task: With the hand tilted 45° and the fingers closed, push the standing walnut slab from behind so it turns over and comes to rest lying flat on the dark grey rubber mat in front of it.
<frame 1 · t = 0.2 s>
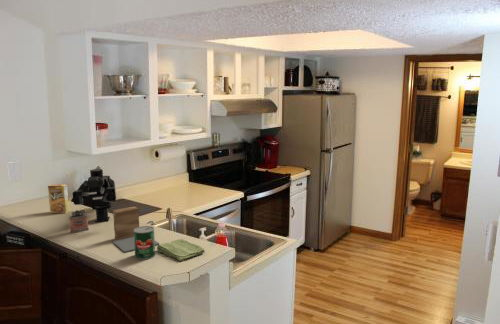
hand: (91, 201, 192), 16 cm above the worktop, tool horizontal, fingers open, 9 cm apart
canned tomato: (145, 256, 171), on the worktop
candy box: (60, 212, 234), on the worktop
red patterned tin: (79, 231, 202), on the worktop
washcloth: (180, 253, 175), on the worktop
mat: (135, 243, 185), on the worktop
walnut slab: (127, 237, 193), on the worktop
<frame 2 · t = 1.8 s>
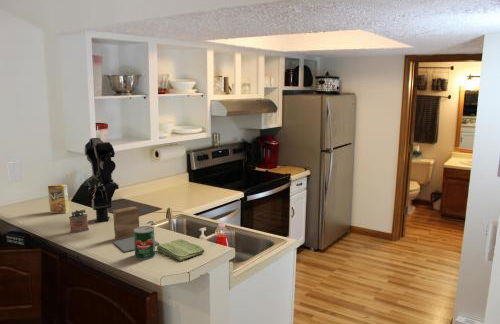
hand: (107, 201, 204), 13 cm above the worktop, tool pointing down, fingers open, 5 cm apart
nothing on the worktop moved.
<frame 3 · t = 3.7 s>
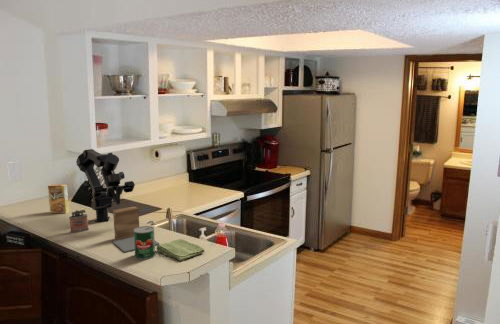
hand: (118, 204, 198), 13 cm above the worktop, tool tilted 45°, fingers closed
nothing on the worktop moved.
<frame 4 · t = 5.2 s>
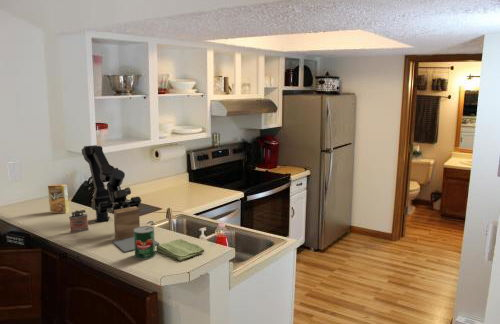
hand: (125, 220, 193), 7 cm above the worktop, tool tilted 45°, fingers closed, pressing on walnut slab
walnut slab: (127, 237, 193), on the worktop, touching gripper
everything else where it was.
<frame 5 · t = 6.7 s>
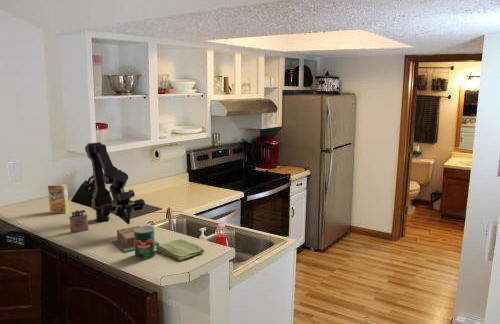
hand: (128, 223, 189), 7 cm above the worktop, tool tilted 45°, fingers closed
walnut slab: (128, 232, 191), point 3 cm above the worktop, tilted 90°, touching mat
everything else where it was.
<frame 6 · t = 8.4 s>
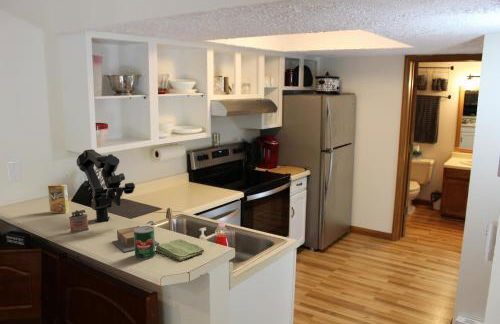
hand: (119, 205, 197), 13 cm above the worktop, tool tilted 45°, fingers closed
nothing on the worktop moved.
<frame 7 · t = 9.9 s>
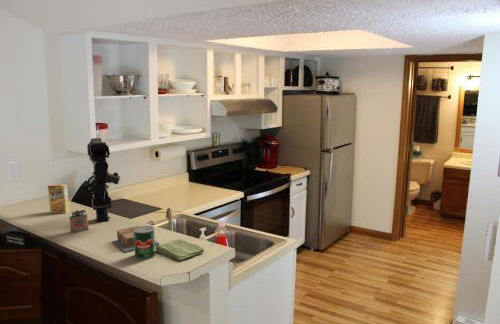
hand: (102, 201, 204), 13 cm above the worktop, tool pointing down, fingers closed
nothing on the worktop moved.
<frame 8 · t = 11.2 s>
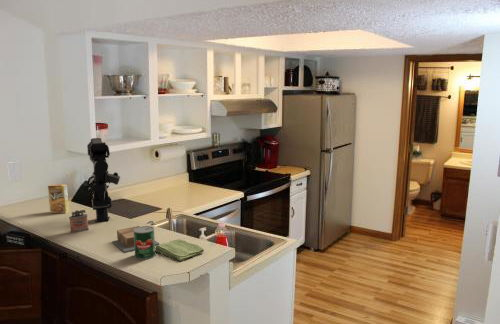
hand: (102, 201, 204), 13 cm above the worktop, tool pointing down, fingers closed
nothing on the worktop moved.
at the end: walnut slab tilted 90°; walnut slab inside the target area (6.8 cm from its centre), point 2.6 cm above the worktop; the gripper is holding nothing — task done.
